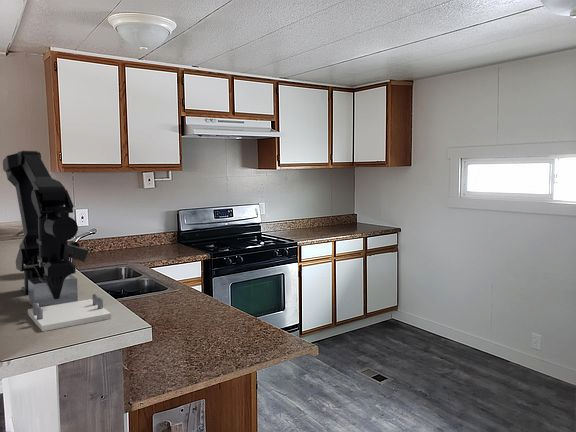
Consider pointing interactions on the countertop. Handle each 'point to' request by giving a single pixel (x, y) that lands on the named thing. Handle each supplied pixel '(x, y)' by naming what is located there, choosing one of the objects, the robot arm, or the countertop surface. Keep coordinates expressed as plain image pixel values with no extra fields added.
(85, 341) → the countertop surface
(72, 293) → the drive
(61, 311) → the tray
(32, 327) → the countertop surface
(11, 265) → the countertop surface
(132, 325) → the countertop surface
